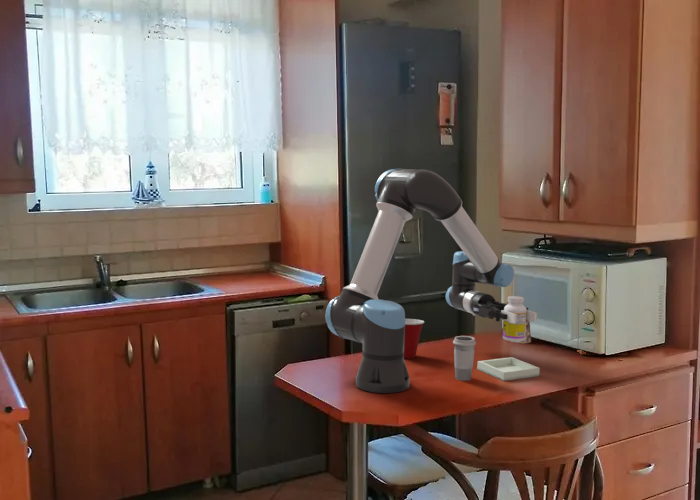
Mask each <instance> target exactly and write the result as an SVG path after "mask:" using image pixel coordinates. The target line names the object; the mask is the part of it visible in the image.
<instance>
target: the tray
mask: <svg viewBox="0 0 700 500" xmlns="http://www.w3.org/2000/svg"><path fill="white" fill-rule="evenodd" d="M476 369H477V370H478V371H480V372H482V373H485V374H487V375H489V376H491V377H494V378H496V379H498V380H501V381H503V382H507V381H512V380H520V379H527V378H535V377H540V367H538V366H535V365H533V364H530V363H529V362H525V361H523V360H520V359H518V358H516V357H513V356H512V357H511V356H510V357H501V358H493V359H486V360H478V361H477V367H476Z"/></svg>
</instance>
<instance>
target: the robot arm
mask: <svg viewBox="0 0 700 500" xmlns="http://www.w3.org/2000/svg"><path fill="white" fill-rule="evenodd" d="M374 193H375V194H374V196H375V199H376V204H375V206H376V208H377V211H378V212H377V215H376V217H375V220H374V223H373V226H372V228H371V230H370V232H369V235H368V238H367V239H366V242H365V245H364V248H363V251H362V254H361V256H360V258H359V260H358V264H357V266H356V268H355V270H354V273H353V276H352V279H351V280H350V284H349V285H346V286H344V287H343V288H342V290H341V292H340V295H337V296H335V297H334V298H333V299H331V300H330V301H329V302H328V304H327V306H326V309H325V314H324V316H325V322H326V325H327V328H328V329H329V331H330V332H331V333H332V334H334V335H335V336H338V337H339V338H341V339H345V340H350V341H353V342H357V343H360V344H362V353H361V354H362V357H361V360H360V363H359V367H358V369H357V372H356V375H355V386H356V388H358V389H360V390H362V391H365V392H368V393H378V394H393V393H401V392H404V391H407V390H408V389H409V388H410V382H411V381H410V380H411V379H410V375H409V372H408V369H407V365H406V361H405V358H404V343H405V324H406V323H405V322H406V320H405V319H406V314H405V313H406V312H405V309H404V307H403V306H402V305H401V304H399V303H397V302H395V301H391V300H385V299H379V296H378V294H379V291H380V289H381V287H382V283H383V281H384V277H385V275H386V273H387V271H388V268H389V266H390V262H391V260H392V257H393V256H394V252H395V249H396V246H397V245H398V242H399V239H400V237H401V234H402V232H403V229H404V226H405V223H406V222H409V220H412V219H413V217H414V214H415V212H416V210H423V211H425V212H427V213H428V214H429V213H430V215H431V216H432V217H433V219H434V220H436V221H438V222H441V224H442V225H443V226H444V228H445V229H446V231H448V233H449V234H450V236H451V237H452V238H453V239H454V241H455V242H456V244H457V245H458V247H459V248H460V249H461V250H460V251H455V252H454V254H453V260H452V280H451V281H452V282H451V286H450V287H448V288H447V291H446V292H445V300H446V303H447V304H448V305H449V306H451V307H452V308H454V309H455V310H458V311H459V310H460V311H463V312H467V313H470V314H472V316H473V317H474V316H476V317H477V316H478V317H480V318H484V319H485V318H488V319H491V320H493V319H495V322H500V321H503V320H504V321H507V322H511V323H514V324H516V320H517V314H514V313H511V312H507V311H504V307H505V306H506V305H508V301H507V302H506V303H503V302H501V301H498V300H497V301H496V299H495V297H494V296H493V295H491V294H489V293H485V292H481V291H479V290H476V289H475V288H476V284H482V285H486V286H487V285H488V286H493V287H495V288H507V287H509V286H511V284H512V282H513V281H514V277H515V271H514V268H513V266H512V265H511V264H508V263H506V262H501V261H500V259H499V258H498V256H497V255H496V253H495V252H494V250H493V249H492V248H491V246H490V245H489V243H488V242H487V240H486V239H485V237H484V236H483V234H482V233H481V232H480V230H479V229H478V227H477V225H476V224H475V223H474V222H473V220H472V219H471V217H470V216H469V214H468V213H467V211H466V210H465V209H464V207H463V200H462V199H461V196H459V195H460V194H458V193H457V191H456V190H455V189H454V188H453V187H452V185H451V184H450V183H449V182H448V181H447V180H445V179H444V178H443V177H441V176H440V175H439V174H437V173H436V172H434V171H431V170H429V169H428V170H427V169H407V168H400V167H399V168H393V169H392V168H391V169H388V170H386V171H384V172H383V173H382V174H381V175H380V176H379V177H378V179H377V181H376V182H375V186H374ZM525 307H526V306H525ZM526 309H527V312H526V319H527V320H529V321H530V322H533V323H537V317H538V312H537V311H536V312H535V311H532V310H529V307H526Z"/></svg>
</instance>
